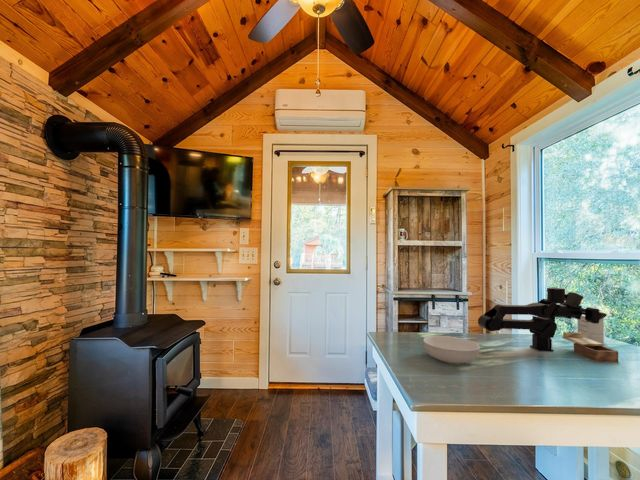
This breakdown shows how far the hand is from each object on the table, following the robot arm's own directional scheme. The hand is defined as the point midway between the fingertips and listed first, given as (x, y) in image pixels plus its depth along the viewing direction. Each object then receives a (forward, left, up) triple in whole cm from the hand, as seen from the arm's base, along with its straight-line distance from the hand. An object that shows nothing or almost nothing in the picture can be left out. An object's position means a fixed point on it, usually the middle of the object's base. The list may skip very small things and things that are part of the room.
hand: (596, 312), depth 144 cm
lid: (-10, -4, -12) cm, 16 cm away
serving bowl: (-72, -15, -17) cm, 76 cm away
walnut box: (-10, -11, -16) cm, 22 cm away
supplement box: (+9, +14, -17) cm, 23 cm away
